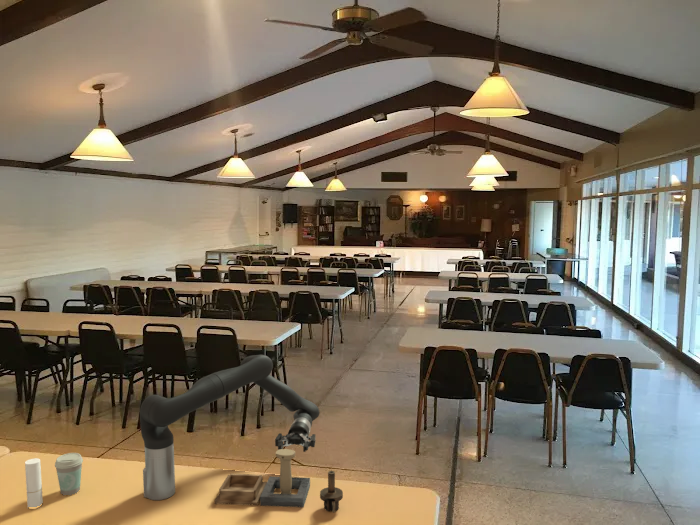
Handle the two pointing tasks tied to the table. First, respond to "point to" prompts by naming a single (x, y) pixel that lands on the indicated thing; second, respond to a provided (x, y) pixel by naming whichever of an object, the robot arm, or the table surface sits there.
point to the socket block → (285, 499)
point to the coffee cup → (69, 472)
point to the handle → (285, 469)
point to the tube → (33, 482)
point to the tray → (241, 489)
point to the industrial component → (331, 494)
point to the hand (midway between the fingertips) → (292, 448)
